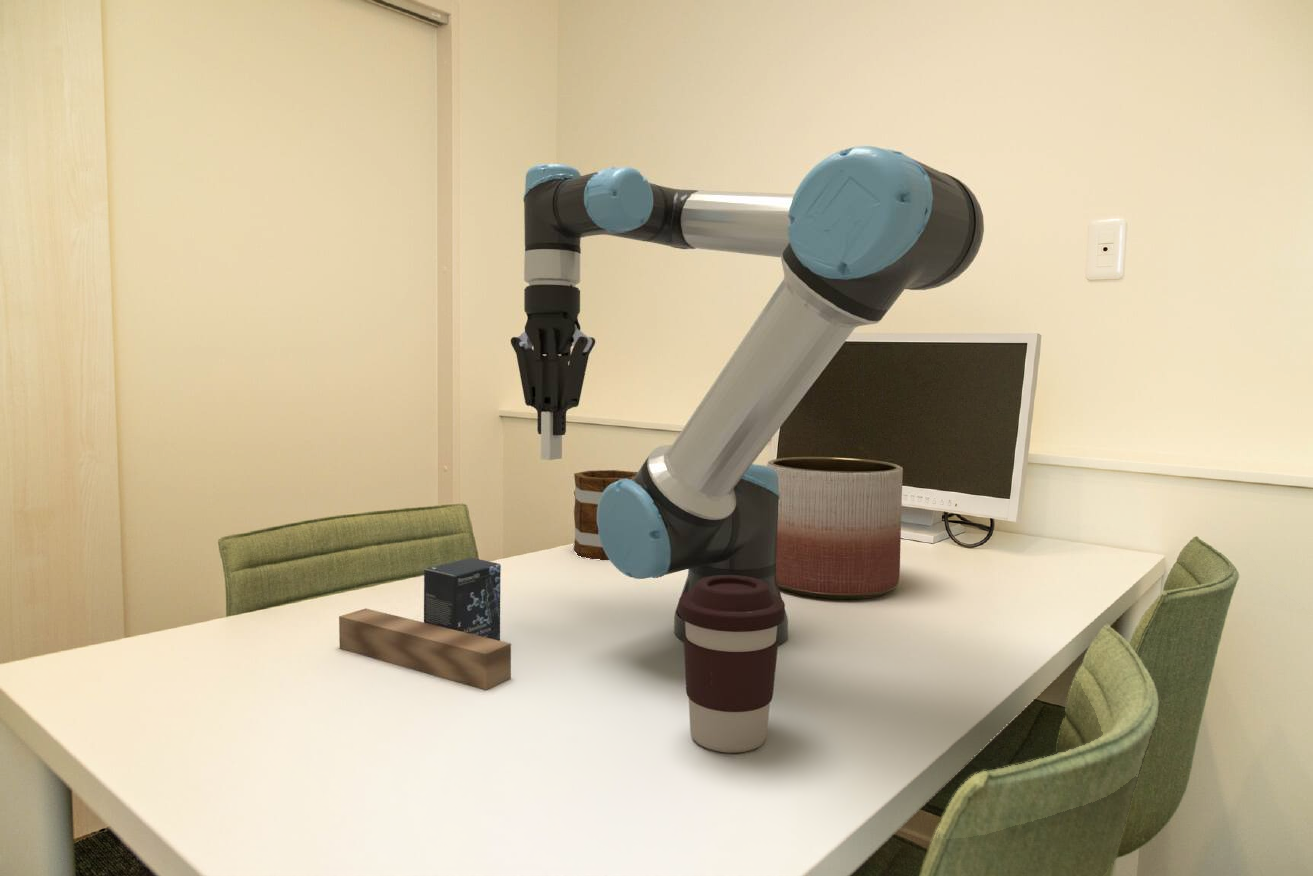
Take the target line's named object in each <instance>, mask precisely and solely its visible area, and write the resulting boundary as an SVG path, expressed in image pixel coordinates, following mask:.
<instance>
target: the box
mask: <svg viewBox="0 0 1313 876" xmlns="http://www.w3.org/2000/svg"><path fill="white" fill-rule="evenodd" d="M501 567H502V565H501V563H497V562H494V561H489V560H488V561H487V560H484V559H479V558H474V557H468V558H464V559H460V560H455V561H452V562H448V563H444V564H440V565H435V566H432V567H431V566H430V567H425V568H424V569H423V572H424V573H423V576H424V577H423V622H424V623H428V624H432V625H436V626H440V627H445V628H449V629H453V630H457V631H461V632H465V633H469V634H473V635H478V636H482V637H486V638H490V639H494V640H498V641H501V581H502V580H501V571H502V568H501Z"/></svg>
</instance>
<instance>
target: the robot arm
mask: <svg viewBox="0 0 1313 876" xmlns="http://www.w3.org/2000/svg"><path fill="white" fill-rule="evenodd" d="M524 182H525V186H524V194H523V198H522V199H523V203H524V205H523V207H524V208H523V209H524V212H523V213H524V216H523V218H524V219H523V220H524V221H523V223H524V224H523V225H524V261H523V262H524V263H523V264H524V267H523V269H524V270H523V271H524V272H523V273H524V274H523V281H524V282H525V283H526V284H528V285H526V286H525V288H524V291H523V292H524V294H523V295H524V297H523V298H524V299H523V300H524V301H523V303H524V304H523V306H524V313H525V314H526V317H527V319H526V323H525V325H524V331H523V332H522V333H521V334H520V335H519V336H513V337H511V338H510V345H511V347H512V348H513V350H514V353H515V354H516V355H515V356H516V359H517V365H518V370H519V376H520V382H521V387H522V393H523V399H524V403H525V405H526V406H527V407H529V406H530V407H531V408H534V409H535V410H536V413H537V427H536V428H537V433H538V435H540V460H546V461H553V460H560V459H563V456H562V455H563V452H562V451H563V436H565V435H566V432H567V411H568V410H571V409H573V408H577V407H579V405H580V400H581V396H582V389H583V386H584V380H585V375H586V372H587V365H588V362H589V357H590V353H592V351H593V350H592V349H593V348H594V347H595V344H596V339H595V337H592V336H588V335H586V334H585V333H584V332H582V331H581V325H580V323H579V319H578V317H579V314H580V312H581V290H580V289H579V287H576V285H579V284H580V283H581V253H582V252H581V249H582V248H581V239H582V238H585V237H592V236H599V235H600V236H604V235H605V236H612V237H619V238H623V239H624V238H625V239H629V240H634V241H640V242H648V243H652V244H657V245H663V246H667V247H670V248H674V249H680V250H696V249H700V250H708V251H715V252H716V251H718V252H729V253H734V254H735V253H736V254H744V255H747V254H748V255H753V256H766V257H773V258H780V259H781V265H782V271H783V274H784V275H783V276H784V277H783V279H782V280H781V283H780V284H779V285H778V287H777V288H776V289H775V291H774V293H773V294H772V295H771V297H770V299H769V300H768V301H767V303H766V304H765V306H764V308H763V309H762V310H761V312H760V313H759V315H758V317H757V318H756V320H755V321H754V322H753V324H752V325H751V327H750V328H749V330H748V332H747V333H746V334H745V336H744V337H743V339H742V340H741V342H740V343H739V344H738V346H737V348H736V350H735V351H734V352H733V354H732V355H731V357H730V358H729V360H727V363H726V364H725V366H724V367H723V369H722V370H721V371H720V373H719V374H718V375H717V376H716V377H717V378H716V379H715V381H714V382H713V384H712V385H711V386H710V388H709V390H708V391H707V392H706V393H705V395H704V397H703V398H702V400H701V401H700V403H699V405H698V406H697V407H696V408H695V410H694V412H692V413H693V414H692V415H691V416H690V418H689V419H688V420H687V422H686V423H685V425H684V427H683V428H682V430H681V431H680V433H679V434H678V435H677V437H676V439H675V440H673V441H674V442H673V443H672V444H664V445H659V446H658V447H655V448H654V449H653V450H652V451H651V452H650V453H649V455H648V457H647V458H646V459H645V461H644V462H643V464H642V465H641V467H640V469H639V470H638V471H637V472H638V473H637V474H636V476H635V477H633V478H632V479H620V480H618V481H617V482H614V483H612V484H610V485H609V486H608V487H607V488H606V489H605V490H604V491H603V493H602V495H601V497H600V500H599V503H598V507H597V525H598V531H599V532H598V534H599V538H600V541H601V544H602V547H603V549H604V551H605V553H606V555H607V557H608V558H609V560H610V561H609V562H610V563H612V565H613V566H614V568H616V569H617V570H618V571H619V572H620V573H622V574H623V575H625V576H627V577H629V578H633V579H637V580H645V579H651V578H652V579H658V578H662V577H664V576H666V575H671V574H673V573H678V572H681V571H685V570H687V571H688V572H687V576H686V579H685V582H684V585H683V589H682V592H681V594H680V597H681V596H682V595H683V594H684V593H686V592H688V591H691V590H693V589H694V587H695V584H696V583H697V581H698V580H700V579H702V578H705V577H710V576H717V575H738V576H746V577H752V578H755V579H758V580H761V581H763V582H765V583H766V584H767V585H768V587H769V589H770V592H771V594H774V595H776V596H778V597H780V598H781V599H782V600H783V598H782V597H783V596H782V594H781V592H780V588H779V587H778V583H777V580H776V560H777V530H778V500H779V499H780V494H779V490H778V475H777V473H776V471H775V470H774V469H773V468H771V467H769V466H767V465H762V464H756V463H755V464H754V462H755V461H756V460H757V458H758V457H759V456H760V454H761V453H762V452H763V451H764V449H765V448H766V446H767V445H768V444H769V442H770V441H771V440H772V439H773V437H774V436H775V434H776V433H777V432H778V431H779V429H780V428H781V426H782V425H783V424H784V423H785V421H786V420H787V419H788V417H789V416H790V415H791V413H793V411H794V409H795V408H796V407H797V405H799V403H800V402H801V400H802V399H803V398H804V397H805V395H806V393H807V392H808V391H809V390H810V388H811V387H812V386H813V384H814V383H815V382H816V380H818V378H819V377H820V375H821V374H822V372H823V371H824V370H825V369H826V368H827V366H828V365H829V363H830V362H831V361H832V359H833V358H834V356H835V355H836V354H837V353H838V352H839V350H840V349H841V348H842V346H843V345H844V343H845V342H846V341H847V339H849V337H850V336H851V335H852V333H853V331H855V329H856V328H859V327H862V326H869V325H876V324H878V323H880V322H881V321H882V320H883V318H884V316H886V314H887V313H888V311H890V309H891V308H892V306H893V305H894V304H895V303H896V301H897V300H898V299H899V298H900V296H901V295H902V294H903V292H904V291H905V290H909V291H925V290H926V291H927V290H932V289H935V288H939V287H941V286H944V285H946V284H949V283H952V281H954V280H956V279H957V278H959V277H960V276H961V275H962V274H963V273H964V272H965V271H966V270H967V269H969V267H970V266H971V264H972V263H973V262H974V260H975V258H977V255H978V253H979V251H980V247H981V246H982V245H981V244H982V242H983V238H984V232H985V227H984V225H985V224H984V223H985V222H984V214H983V211H982V207H981V204H980V203H979V201H978V199H977V196H976V195H975V193H974V192H973V191H972V190H971V189H970V187H969V186H967V184H965V183H964V182H962V181H961V180H960V179H958V178H956V177H954V176H952V175H950V174H948V173H945V172H942V171H940V170H938V169H936V168H933V167H931V166H930V165H926V164H924V163H922V162H921V161H919V160H916V159H914V158H912V157H910V156H908V155H906V154H904V153H903V152H902V151H898V150H893V149H889V148H888V149H887V148H886V149H885V148H881V147H877V146H870V145H861V146H853V147H849V148H846V149H841V150H839V151H836V152H834V153H832V154H830V155H829V156H827V157H825V158H824V159H822V160H821V161H820V162H818V163H817V164H815V165H814V167H813V168H811V170H810V171H809V172H808V173H807V174H806V175H805V176H804V178H803V179H802V180H801V182H800V183H799V185H798V187H797V188H796V190H795V193H776V192H772V193H771V192H753V191H752V192H748V191H747V192H746V191H725V190H723V191H722V190H701V189H700V190H696V189H679V188H673V187H666V186H663V185H658V184H655V183H652V182H650V181H649V180H648V178H646V177H645V176H643V175H642V173H641V172H640V171H639V170H638V169H636V168H633V167H630V166H623V167H607V168H606V169H605V168H604V169H601V170H599V171H595V172H592V173H591V172H590V173H588V174H584V175H581V173H580V171H579V170H578V169H577V168H576V167H573V166H569V165H565V164H559V163H548V164H536V165H534V166H531V167H530V168H529V169H528V170H527V172H526V174H525V181H524ZM572 347H573V348H572ZM673 617H674V618H673V632H674V635H676V636H677V637H678V638H679V639H680V640H681V641H683V642H684V634H685V632H686V628H685V621H684V620H683V619H682V618H681V617H680V615H679V601H678V603H677V605H676V608H675V612H674V616H673ZM788 629H789V619H788V614H787V611H786V610H785V615H784V620H783V622H782V623H781V624H779V625H777V634H776V636H777V638H778V646H779V645H781V644H783V643H784V642H785V641H786V640H788V637H789V636H788V635H789V634H788V633H789V630H788Z"/></svg>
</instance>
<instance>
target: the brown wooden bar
mask: <svg viewBox="0 0 1313 876" xmlns="http://www.w3.org/2000/svg"><path fill="white" fill-rule="evenodd" d="M338 619H339V620H338V627H339V628H338V633H339V639H338V640H339V649H342V650H345V651H348V652H352V653H355V654H359V655H363V656H366V657H369V658H373V659H377V660H381V661H384V662H387V663H390V664H394V665H398V666H401V667H405V668H407V669H411V670H415V671H419V672H423V673H426V674H428V675H433V676H436V677H439V678H443V679H446V680H450V681H453V682H457V683H460V684H464V685H467V686H471V687H473V688H474V687H475V688H478V689H481V690H485V691H488V690H489V689H491V688H494V687H495V686H498V685H500V684H502V683H504V682H507V681H508V680H510V679H511V678H512V673H511V672H512V643H511V642H505V641H502V640H500V641H498V640H494V639H490V638H486V637H482V636H478V635H473V634H469V633H465V632H461V631H457V630H453V629H449V628H445V627H440V626H436V625H432V624H428V623H424V621H421V620H420V621H419V620H416V619H415V620H414V619H411V618H406V617H402V616H398V615H395V614H390V613H387V612H381V611H378V610H373V609H370V608H366V607H365V608H362V609H360V610H356V611H352V612H349V613H346V614H342V615H339V616H338Z"/></svg>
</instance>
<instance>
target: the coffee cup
mask: <svg viewBox="0 0 1313 876" xmlns="http://www.w3.org/2000/svg"><path fill="white" fill-rule="evenodd" d="M678 602H679V615H680V617H681V618H682V619H683V620H684V621H685V628H686V632H685V634H684V641H683V650H684V651H683V652H684V671H685V672H684V675H685V691H686V696H687V698H688V708H689V731H690V736H691V737H692V739H693V741H695V742H696V743H697V744H699V746H701V747H703V748H706V749H708V750H710V751H715V752H719V753H720V752H721V753H729V754H730V753H731V754H733V753H735V754H737V753H744V752H745V753H747V752H750V751H753V750H756V749H758V748H759V747H760V746H761V745H763V744H764V743H765V741H766V739H767V734H768V727H769V726H768V723H769V717H770V716H769V715H770V705H771V702H772V699H773V696H774V687H775V677H776V676H775V675H776V669H777V668H776V667H777V660H778V659H777V658H778V648H779V645H778V638H777V636H776V634H777V625H779V624H781V623H782V622H783V620H784V615H785V611H786V603H785V601H784V600H783V598H782V599H781V598H780V597H778V596H776V595H774V594H771V592H770V589H769V587H768V585H767V584H766V583H765V582H763V581H761V580H758V579H755V578H752V577H746V576H738V575H717V576H710V577H705V578H702V579H700V580H698V581H697V583H696V584H695V587H694V589H693V590H691V591H688V592H686V593H684V594H683V595H682V596H681V595H680V597H679V600H678Z"/></svg>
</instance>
